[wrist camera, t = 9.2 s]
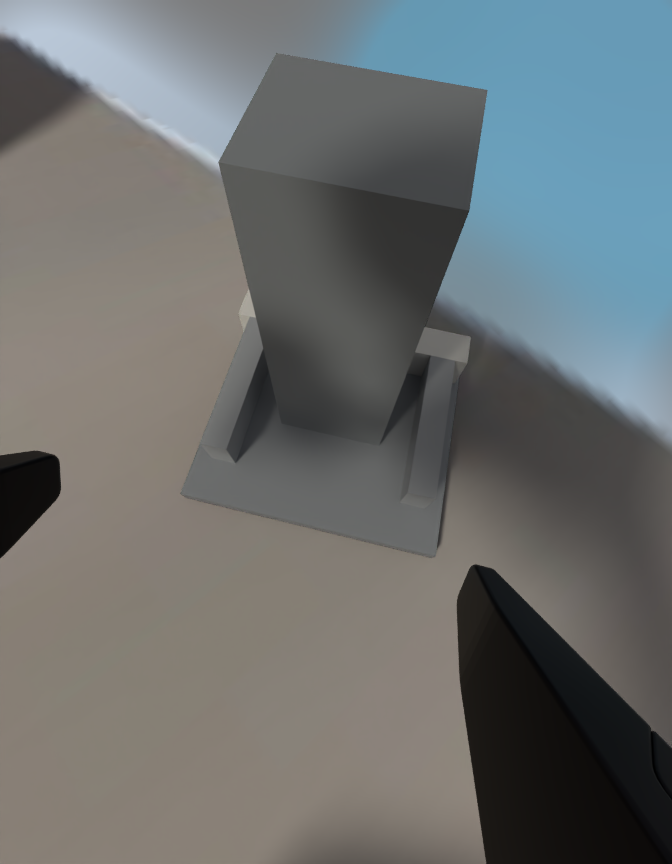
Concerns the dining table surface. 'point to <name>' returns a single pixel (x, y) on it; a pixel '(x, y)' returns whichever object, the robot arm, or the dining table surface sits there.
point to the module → (347, 229)
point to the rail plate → (334, 452)
